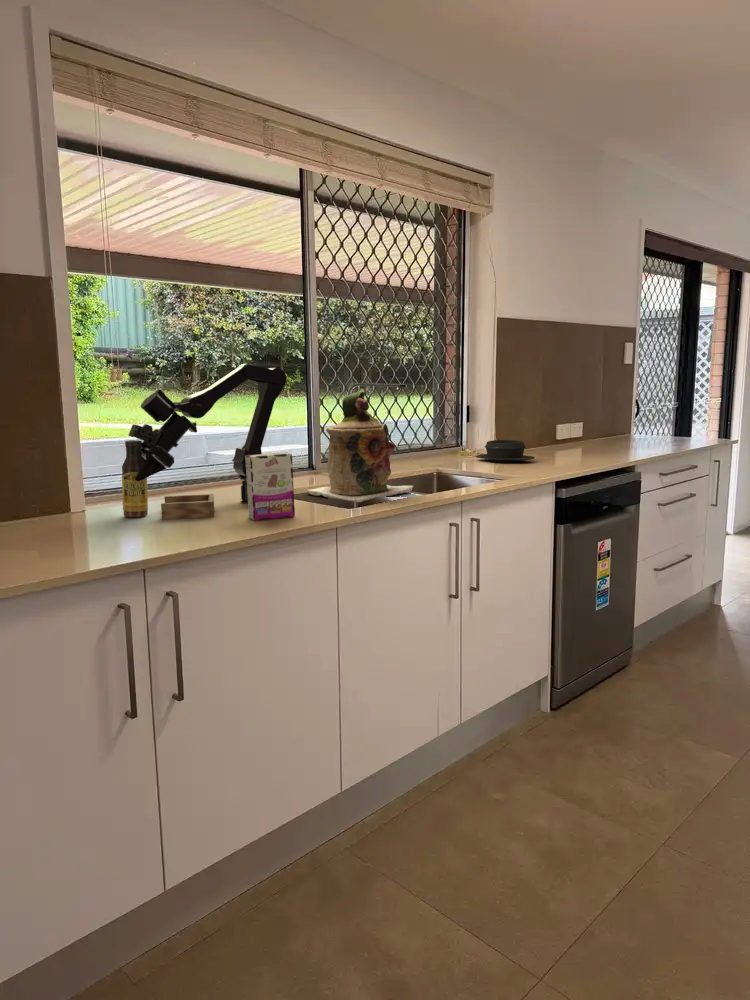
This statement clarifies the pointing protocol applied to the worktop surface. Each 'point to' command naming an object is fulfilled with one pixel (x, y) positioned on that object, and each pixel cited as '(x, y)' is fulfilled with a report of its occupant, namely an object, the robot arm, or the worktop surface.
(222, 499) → the worktop surface
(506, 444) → the casserole
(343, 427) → the cookie jar
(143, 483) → the sauce bottle
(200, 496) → the box
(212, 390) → the robot arm
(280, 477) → the candy bar box
